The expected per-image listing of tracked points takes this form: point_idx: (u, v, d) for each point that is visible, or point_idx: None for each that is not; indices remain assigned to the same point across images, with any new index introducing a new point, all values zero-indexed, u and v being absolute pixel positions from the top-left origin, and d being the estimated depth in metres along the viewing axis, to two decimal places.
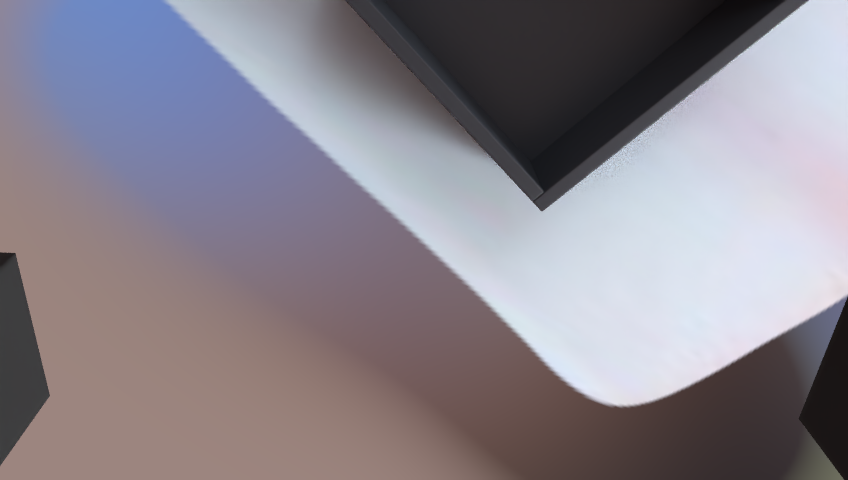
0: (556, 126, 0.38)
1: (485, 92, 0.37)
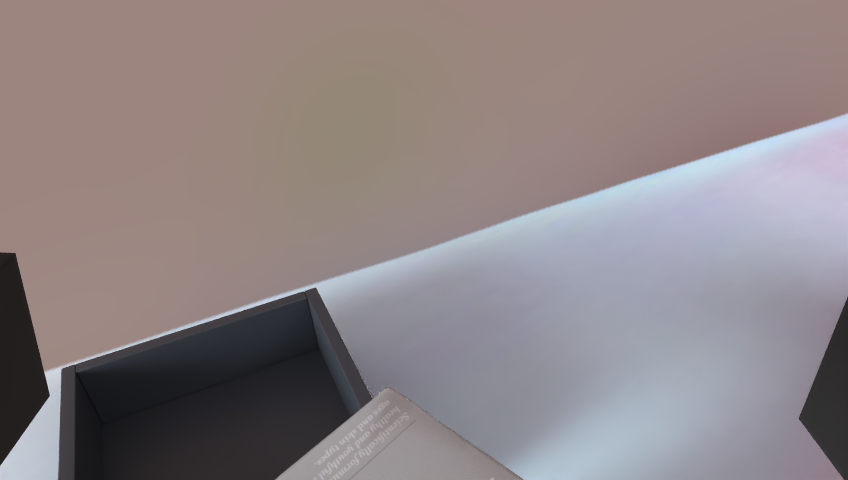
0: (114, 447, 0.40)
1: (181, 404, 0.43)
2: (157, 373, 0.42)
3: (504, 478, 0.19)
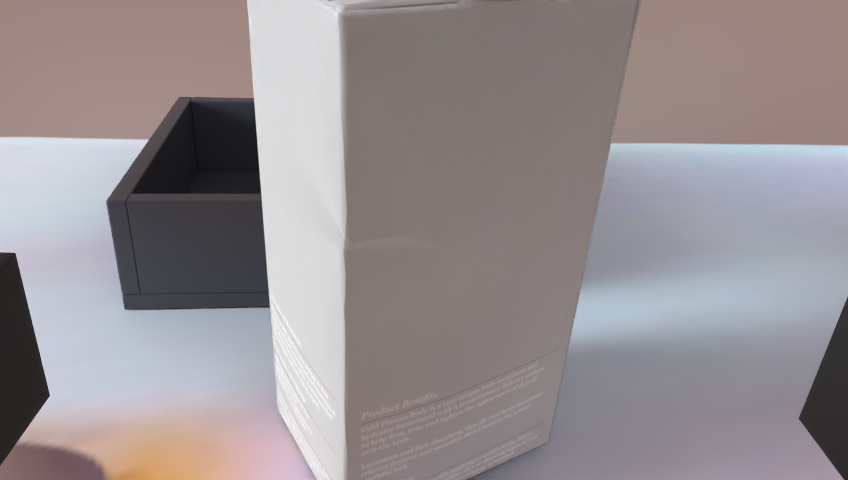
0: (201, 184, 0.41)
1: None
2: None
3: None
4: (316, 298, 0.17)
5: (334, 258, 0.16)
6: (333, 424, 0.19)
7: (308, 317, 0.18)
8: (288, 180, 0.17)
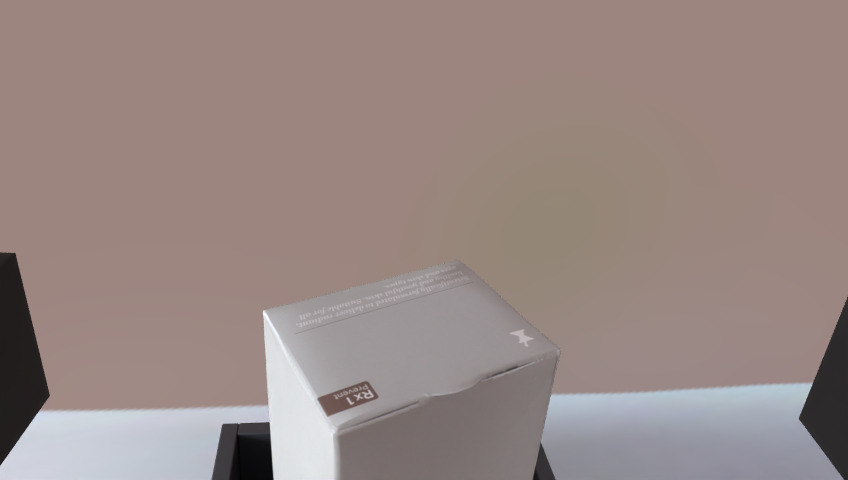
0: None
1: None
2: None
3: (533, 332, 0.22)
4: None
5: None
6: None
7: None
8: (294, 476, 0.23)
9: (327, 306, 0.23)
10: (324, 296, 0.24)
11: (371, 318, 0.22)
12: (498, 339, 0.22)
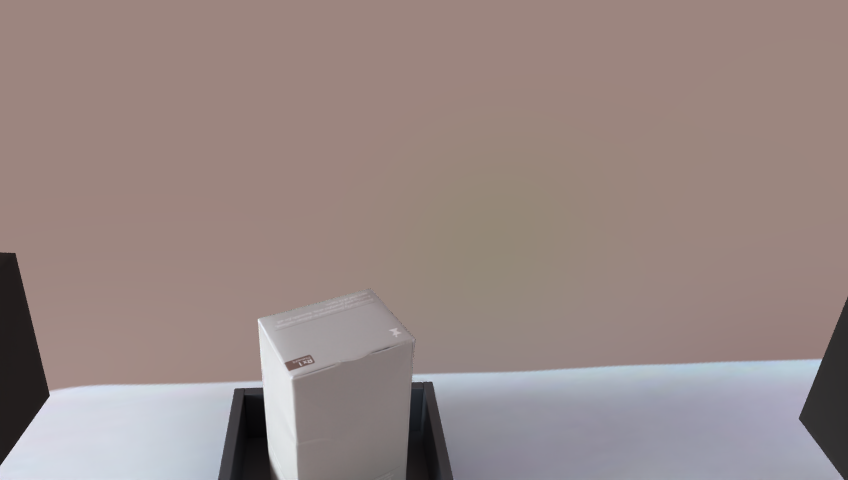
0: (252, 459, 0.52)
1: None
2: None
3: (401, 329, 0.42)
4: (287, 455, 0.43)
5: (293, 446, 0.41)
6: None
7: (284, 459, 0.44)
8: (275, 407, 0.42)
9: (292, 316, 0.43)
10: (291, 310, 0.43)
11: (315, 322, 0.42)
12: (382, 333, 0.41)
